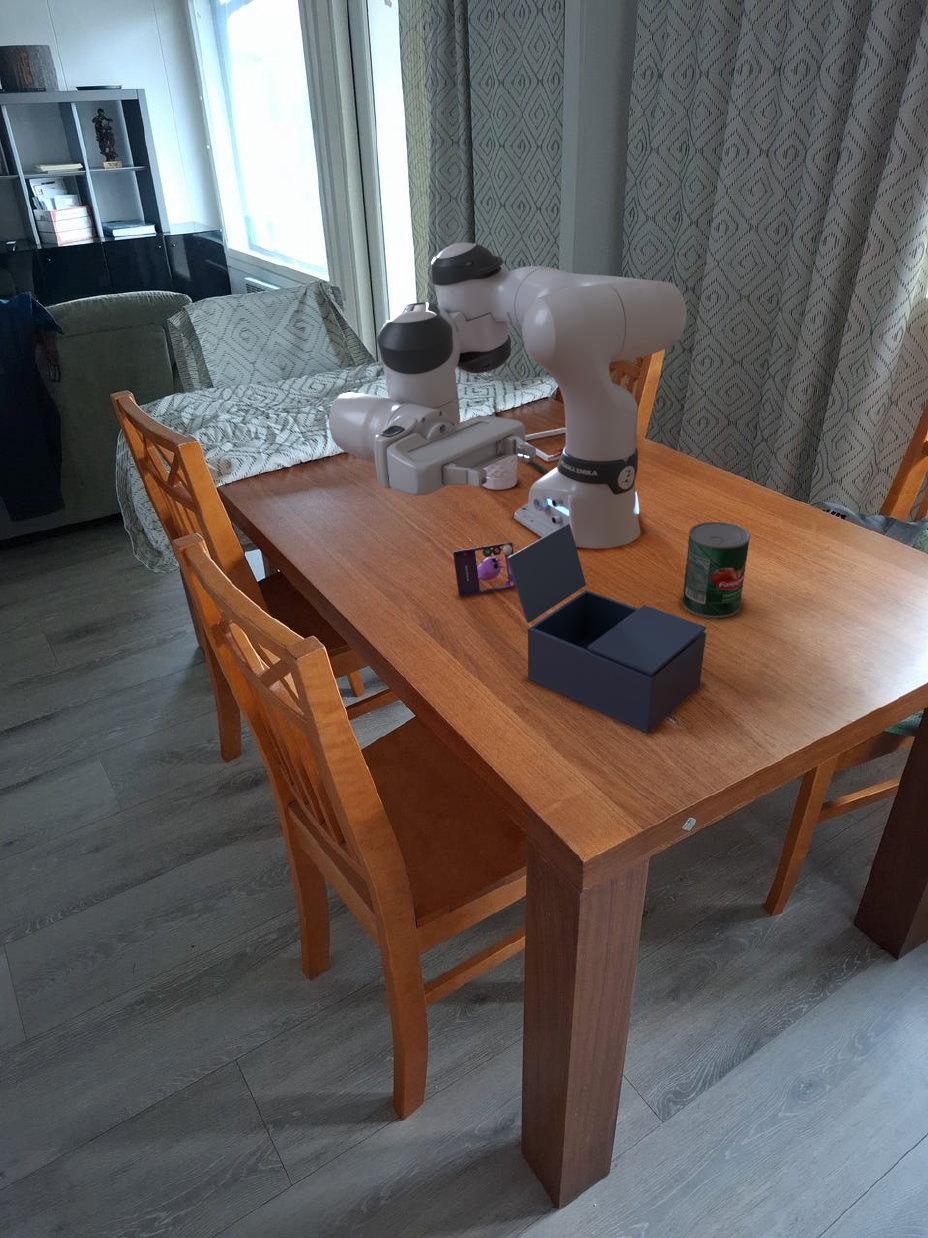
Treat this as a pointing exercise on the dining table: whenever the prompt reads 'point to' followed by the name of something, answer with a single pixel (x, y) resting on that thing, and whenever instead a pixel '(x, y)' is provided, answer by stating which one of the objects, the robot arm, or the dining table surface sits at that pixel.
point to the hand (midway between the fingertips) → (508, 466)
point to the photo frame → (544, 434)
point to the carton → (617, 658)
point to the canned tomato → (715, 569)
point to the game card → (480, 568)
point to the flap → (546, 572)
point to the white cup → (502, 473)
